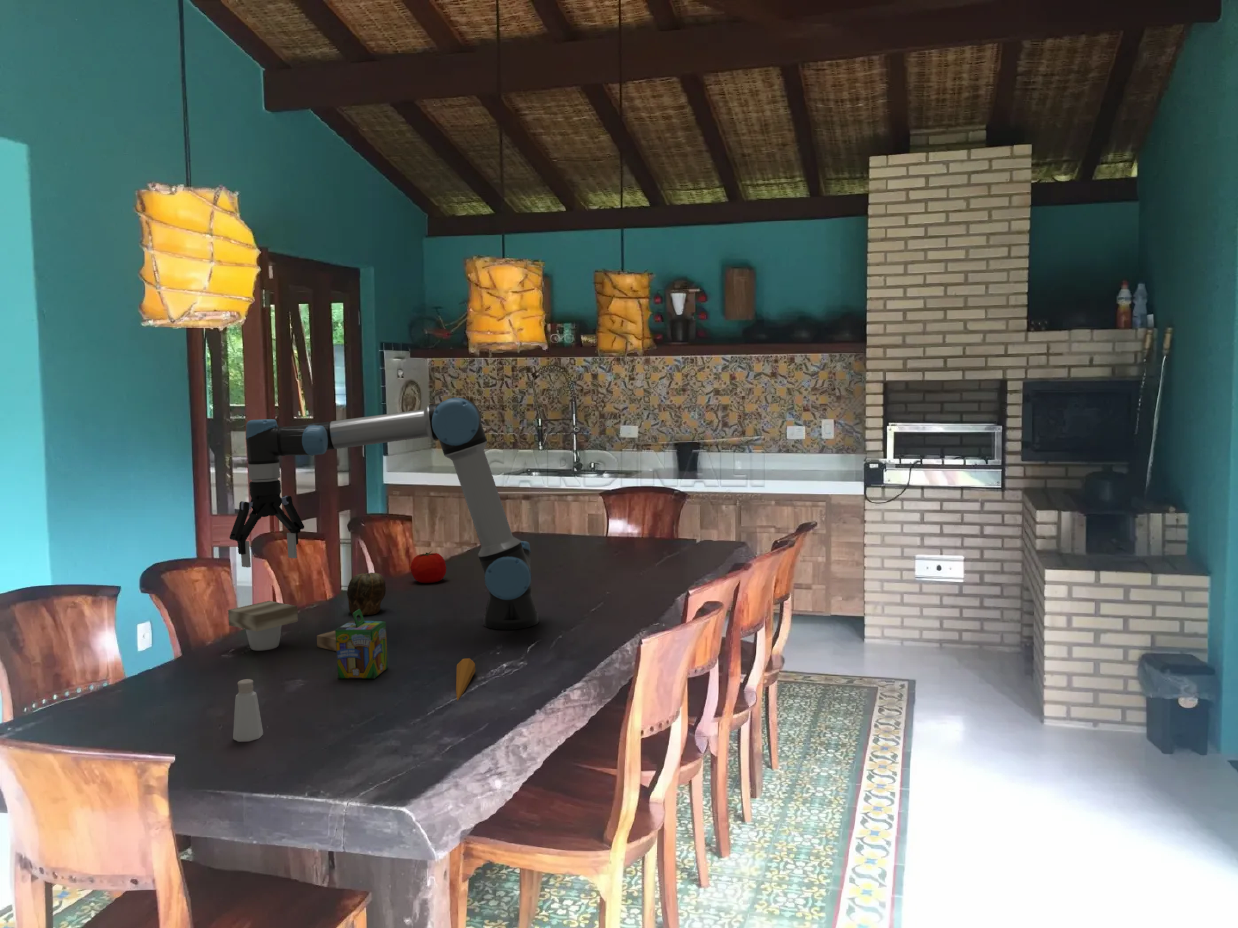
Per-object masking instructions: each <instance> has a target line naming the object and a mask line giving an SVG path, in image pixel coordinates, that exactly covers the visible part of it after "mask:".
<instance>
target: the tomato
mask: <svg viewBox="0 0 1238 928" xmlns="http://www.w3.org/2000/svg"><path fill="white" fill-rule="evenodd" d="M410 572H411V575H412V576H413V579H414V580H415V581H417V582H418V583H421V584H432V583H433V584H434V583H438V582H440V581H441V580H443V578H444V577H445V575H446V573H447V564H446V561H445V558H444V557H443V556H442V555H441V554H440V553H437V552H433V553H432V551H430V552H425V553H419V554H417V555H415V556H414V557H413V559H412V560H411V562H410Z"/></svg>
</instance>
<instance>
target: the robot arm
mask: <svg viewBox="0 0 1238 928" xmlns="http://www.w3.org/2000/svg"><path fill="white" fill-rule="evenodd" d="M481 421H482V416H481V412H480V410H479V408H478V406H477V405H476V403H474V402H473V401H471V400H470V399H468V398H464V397H451V398H447V399H445V400H443V401H442V402H441V401H440V403H433V404H428V405H427V406H426V407H425V408H423V409H416V410H410V411H409V410H408V411H401V412H393V413H387V414H379V415H378V414H377V415H371V416H370V415H369V416H363V417H355V418H348V419H340V420H332V421H326V422H325V421H324V422H312V423H308V424H305V425H296V426H294V425H293V426H292V425H291V426H281V425H280V426H279V425H278V423H277V420H276V419H275V418H273V419H271V418H270V419H264V418H263V419H251V420H248V421H247V422H246V425H245V427H246V428H245V432H246V433H245V436H246V437H245V440H246V441H245V442H246V454H247V466H248V478H249V480H250V481H249V483H248V484H249V485H248V486H249V495H250V501H240V502H239V503H238V507H239V508H238V509H239V510H238V513H237V515H236V518H235V521H234V523H233V527H232V529H231V531H230V534H229V539H230V541H231V540H232V541H235V542H237V553H238V555H240V557H241V559H240V560H241V567H243V568H251V567H252V565H251V552H250V550H251V547H250V541H248V540H247V539H248V538H249V536H250V534H251V533H252V531H253V530H254V528H255V526H256V525H257V524H258V522H259V520H261V518H266V517H267V518H268V517H269V516H270V517H273V516H275V517H276V519H277V520H278V521H280V522H281V524H282V525H283V526H284V527H285V528H286V529H287V530H288V531H289V532H286V541H287V543H286V544H287V557H288V559H289V558H290V559H297V558H298V552H297V551H298V550H297V545H299V534H300V533H301V530H305V525H304V523H303V521H302V519H301V518H300V515H299V513H298V511H297V510H296V508H295V506H294V503H293V497H292V496H290V495H283V496H282V497H281V493H282V486H281V481H280V479H279V478H281V467H280V457H287V456H291V457H292V456H310V457H311V456H312V457H313V456H317V455H324V454H326V452H327V451H331V450H337V449H338V450H339V449H346V448H353V447H360V446H361V447H362V446H369V445H376V444H384V443H391V442H401V441H407V440H408V441H409V440H415V439H423V438H429V439H431V440H433V441H436V440H438V442H439V445H440V448H441V450H442V452H443V457H445V458H448V459H449V460H451V462H452V464H453V467H454V470H455V472H456V475H457V478H458V482H459V485H460V487H461V491H462V494H463V497H464V498H465V502H466V506H467V509H468V512H469V514H470V517H471V520H472V523H473V525H474V529H475V531H476V535H477V538H478V542H479V543H480V549H479V552H478V553H477V556H478V558H479V562H480V564H481V568H482V571H483V574H484V584H485V586H486V588H487V590H488V600H487V604H486V607H485V613H484V614H483V625H484V627H485V628H489V629H493V630H503V631H505V630H519V629H520V630H521V629H526V628H527V629H528V628H531V627H534V626H536V625H537V624H538V623H539V613H538V611H537V610H536V605H535V601H534V600H533V596H532V572H531V553H532V550H531V546H530V542H528V541H525V540H524V541H523V540H521V539H519V538H517V537H515V536H514V535H513V533H512V530H511V527H510V524H509V522H508V518H507V515H506V512H505V509H504V506H503V504H502V503H503V502H502V500H501V497H500V494H499V491H498V488H497V484H496V482H495V480H494V475H493V474H492V470H491V467H490V464H489V462H488V459H487V455H486V453H485V448H486V446H487V443H488V440H487V439H488V438H487V437H486V434H485V431H484V427H483V425H482V422H481ZM282 505H283V508H284V510H283V509H282V507H281V506H282ZM251 509H252V510H251ZM250 510H251V512H250ZM249 512H250V513H249ZM285 512H286V513H287V514H286V513H285ZM288 516H289V517H288Z"/></svg>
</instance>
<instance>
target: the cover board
mask: <svg viewBox="0 0 1238 928" xmlns="http://www.w3.org/2000/svg"><path fill="white" fill-rule="evenodd" d="M227 613H228V617H227V618H228V625H229V626H231V627H235V628H240V629H243V630H246V629H248V630H252V631H256V632H257V631H261V630H265V629H269V628H273V627H277V626H281V625H282V626H286V625H289V624H292V623H296V622H299V618H298V617H299V616H298V614H299V613H298V606H297V605H293V604H289V603H287V604H286V603H281V602H277V601H272V600H267V601H263V602H258V603H253V604H249V605H243V606H240V607H235V608H231V609H228V610H227ZM282 626H281V627H282Z"/></svg>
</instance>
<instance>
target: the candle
mask: <svg viewBox="0 0 1238 928" xmlns="http://www.w3.org/2000/svg"><path fill="white" fill-rule="evenodd" d="M282 626H283V625H281V626H277V627H273V628H269V629H265V630H261V631H257V632H256V631H252V630H248V629H245V632H246V637H247V640H248V644H249V647H250V649H251V650H253V651H258V652H259V651H269V650H273V649H276V648H277V647H279V645H280V639H281V631H282Z"/></svg>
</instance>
